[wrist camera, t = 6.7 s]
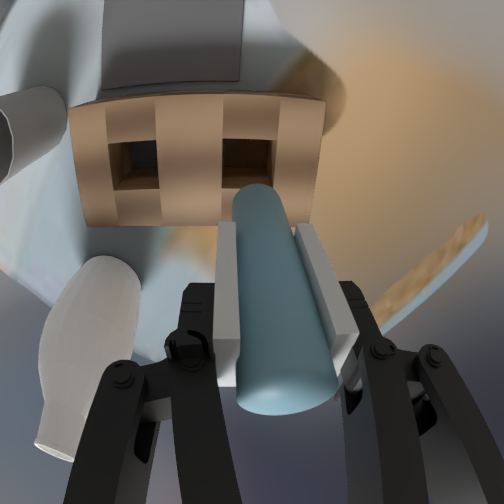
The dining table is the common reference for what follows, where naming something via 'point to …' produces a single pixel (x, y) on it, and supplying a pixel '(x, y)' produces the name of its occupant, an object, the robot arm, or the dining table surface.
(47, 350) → the bottle
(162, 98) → the block
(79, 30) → the dining table surface
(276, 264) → the peg
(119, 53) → the mat
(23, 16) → the dining table surface
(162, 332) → the dining table surface
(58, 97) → the cup
